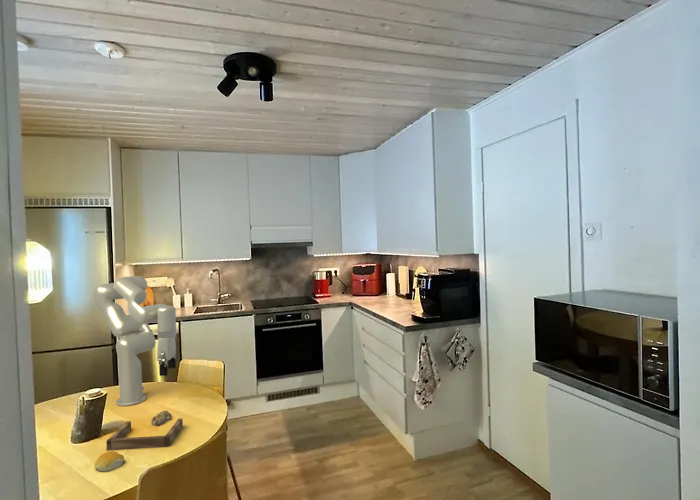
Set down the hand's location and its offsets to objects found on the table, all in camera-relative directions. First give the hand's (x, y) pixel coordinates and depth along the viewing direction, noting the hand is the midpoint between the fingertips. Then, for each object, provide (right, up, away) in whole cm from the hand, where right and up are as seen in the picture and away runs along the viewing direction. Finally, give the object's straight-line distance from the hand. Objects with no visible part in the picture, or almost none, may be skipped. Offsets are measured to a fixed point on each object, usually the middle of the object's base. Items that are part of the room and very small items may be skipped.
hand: (167, 371), depth 179 cm
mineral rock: (+1, -19, -8) cm, 21 cm away
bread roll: (-1, -20, -41) cm, 46 cm away
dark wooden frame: (+2, -19, -23) cm, 30 cm away
